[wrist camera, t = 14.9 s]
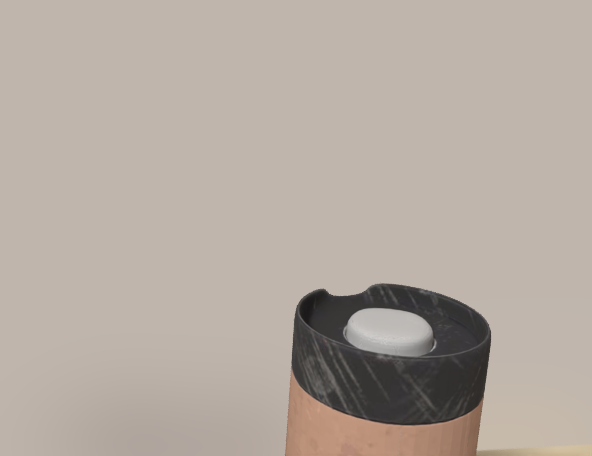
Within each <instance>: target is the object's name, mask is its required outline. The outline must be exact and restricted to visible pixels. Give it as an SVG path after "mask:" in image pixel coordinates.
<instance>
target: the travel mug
mask: <svg viewBox="0 0 592 456" xmlns="http://www.w3.org/2000/svg"><path fill="white" fill-rule="evenodd" d="M490 346H491V330H490V328H489V324H488V323H487V321H486V320H485V319H484V317H483V316H482V315H481V314H479V313H478V312H476V311H475V310H474V309H472V308H471V307H469V306H467V305H466V304H464V303H462V302H460V301H458V300H455V299H453V298H450V297H447V296H444V295H442V294H439V293H435V292H432V291H428V290H424V289H420V288H415V287H410V286H404V285H396V284H375V285H372V286H370V287H369V288H368V289H367V290H366V291H364V292H362V293H360V294H356V295H350V296H333V295H331V294H329V293H328V292H327V291H326V290H325V289H318V290H315V291H313V292H311V293H309V294H307V295H306V296H304V297H303V298H302V299H301V300H300V302H299V304H298V305H297V308H296V313H295V319H294V334H293V348H292V349H293V350H292V366H291V380H290V394H289V409H288V424H287V439H286V454H285V456H476V449H477V442H478V435H479V427H480V419H481V412H482V405H483V398H484V390H485V383H486V376H487V368H488V361H489V353H490Z"/></svg>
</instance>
